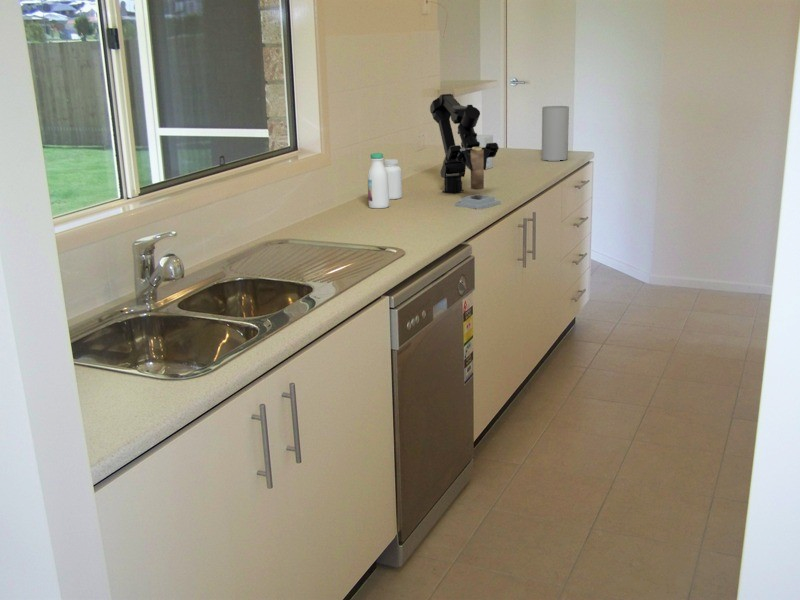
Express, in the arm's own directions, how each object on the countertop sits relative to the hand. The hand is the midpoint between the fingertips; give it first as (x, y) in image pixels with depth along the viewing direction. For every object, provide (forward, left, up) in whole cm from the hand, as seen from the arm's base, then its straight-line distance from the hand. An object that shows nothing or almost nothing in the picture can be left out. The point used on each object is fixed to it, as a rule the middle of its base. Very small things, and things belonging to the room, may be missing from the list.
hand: (478, 169), depth 319 cm
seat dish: (-1, +1, -13) cm, 13 cm away
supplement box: (-52, +70, -14) cm, 88 cm away
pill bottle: (-38, -6, -13) cm, 41 cm away
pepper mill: (-1, +1, -7) cm, 7 cm away
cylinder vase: (-36, +108, -13) cm, 114 cm away
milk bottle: (-30, -22, -13) cm, 40 cm away
